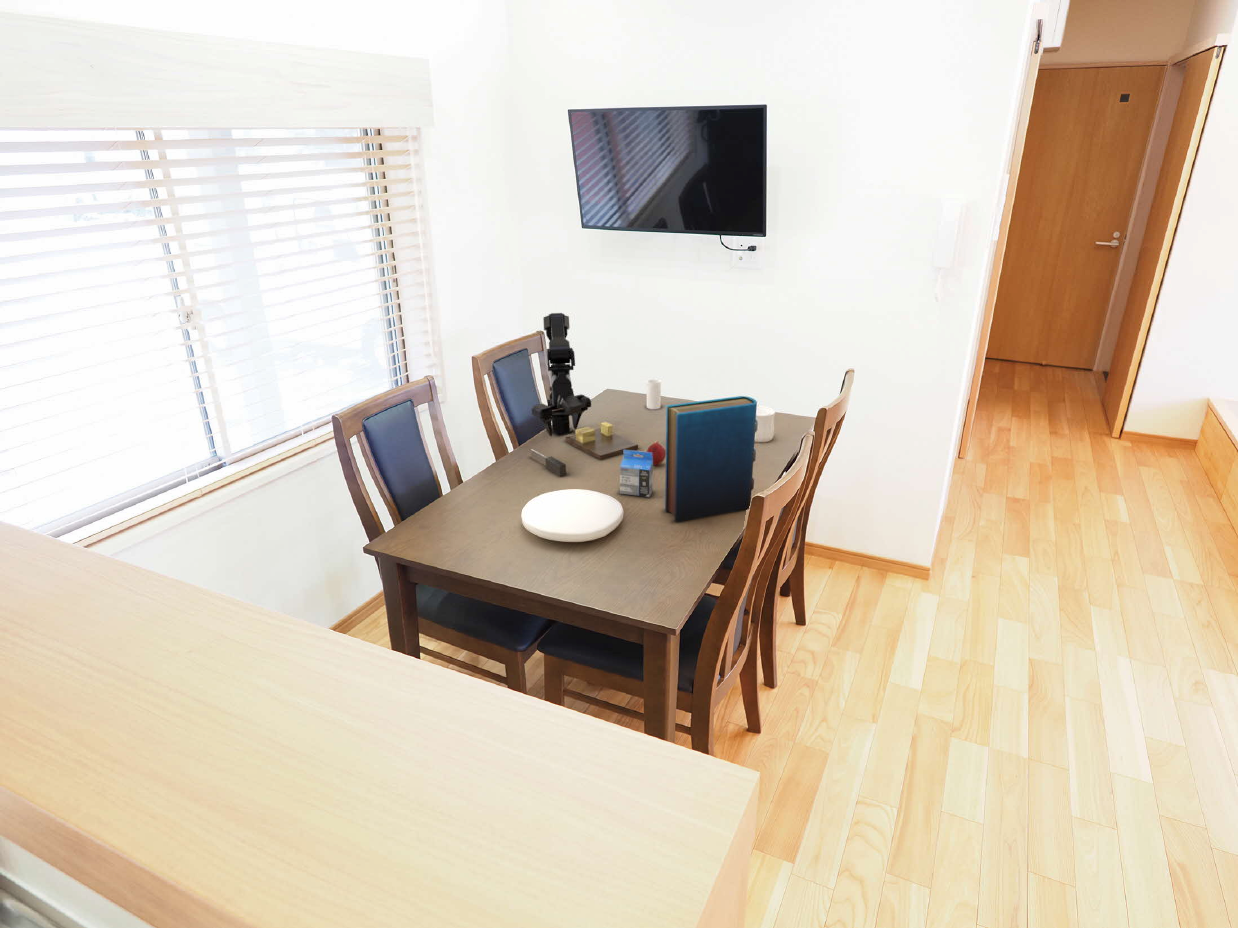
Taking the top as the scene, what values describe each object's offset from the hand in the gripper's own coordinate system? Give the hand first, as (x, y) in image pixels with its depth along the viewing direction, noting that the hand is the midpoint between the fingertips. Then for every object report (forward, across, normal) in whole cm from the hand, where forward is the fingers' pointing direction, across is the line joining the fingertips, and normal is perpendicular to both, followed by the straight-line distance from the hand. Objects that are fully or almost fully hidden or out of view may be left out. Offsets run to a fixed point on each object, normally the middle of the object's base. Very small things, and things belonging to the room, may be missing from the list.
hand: (562, 432), depth 247 cm
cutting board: (+8, +15, 0) cm, 17 cm away
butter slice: (+7, +20, +4) cm, 21 cm away
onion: (+8, +18, -24) cm, 31 cm away
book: (+8, +11, -56) cm, 57 cm away
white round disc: (+8, -24, -41) cm, 48 cm away
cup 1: (+9, +52, +19) cm, 56 cm away
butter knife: (+8, -9, -5) cm, 13 cm away
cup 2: (+8, +60, -27) cm, 66 cm away
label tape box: (+8, +1, -36) cm, 37 cm away
